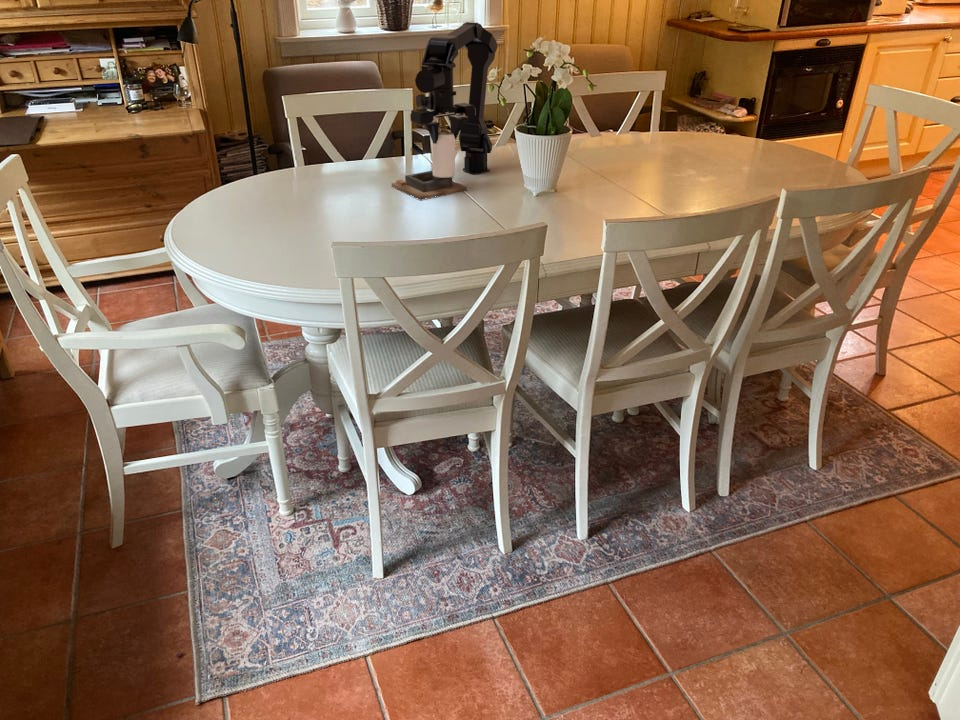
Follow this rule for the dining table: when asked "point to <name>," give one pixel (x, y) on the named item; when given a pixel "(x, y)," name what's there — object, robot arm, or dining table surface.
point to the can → (444, 156)
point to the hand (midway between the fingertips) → (444, 144)
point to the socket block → (427, 185)
